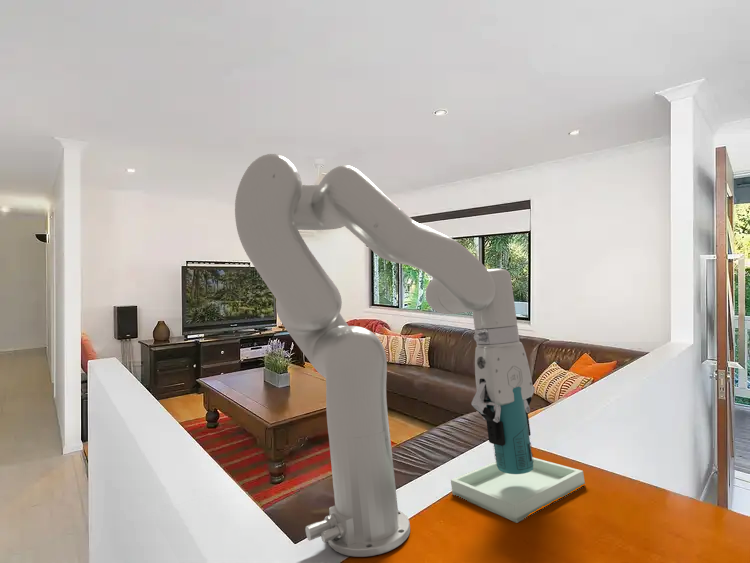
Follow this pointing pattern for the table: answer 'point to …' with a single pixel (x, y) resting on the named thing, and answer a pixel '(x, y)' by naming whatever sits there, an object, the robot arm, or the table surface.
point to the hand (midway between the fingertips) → (510, 438)
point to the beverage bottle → (514, 438)
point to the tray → (517, 488)
